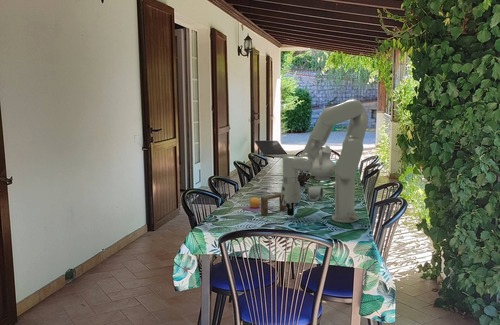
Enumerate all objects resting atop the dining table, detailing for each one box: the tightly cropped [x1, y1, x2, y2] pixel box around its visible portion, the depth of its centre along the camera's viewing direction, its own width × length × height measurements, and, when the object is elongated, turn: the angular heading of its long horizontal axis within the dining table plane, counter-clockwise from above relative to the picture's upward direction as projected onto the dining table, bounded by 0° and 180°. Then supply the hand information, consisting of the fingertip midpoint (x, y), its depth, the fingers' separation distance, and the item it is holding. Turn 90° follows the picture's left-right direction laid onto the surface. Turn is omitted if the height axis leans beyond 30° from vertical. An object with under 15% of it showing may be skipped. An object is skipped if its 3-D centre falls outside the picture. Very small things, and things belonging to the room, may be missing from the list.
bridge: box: [260, 192, 287, 217], centre depth 238 cm, size 3×15×10 cm, turn 128°
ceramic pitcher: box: [309, 145, 336, 182], centre depth 326 cm, size 22×20×25 cm
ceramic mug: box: [307, 186, 324, 202], centre depth 266 cm, size 11×8×8 cm
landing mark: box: [241, 203, 274, 213], centre depth 249 cm, size 13×13×1 cm
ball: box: [248, 196, 261, 208], centre depth 250 cm, size 6×6×6 cm
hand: (290, 215), depth 228 cm, fingers closed
